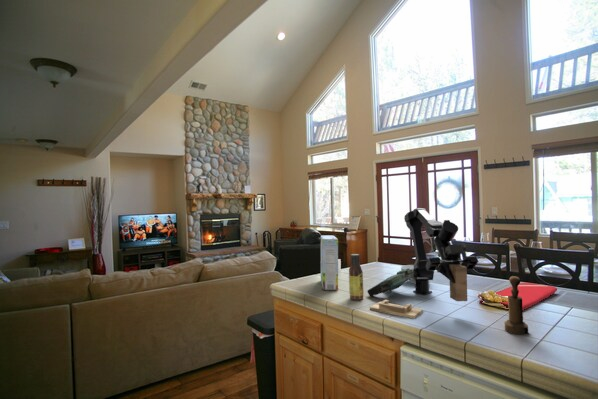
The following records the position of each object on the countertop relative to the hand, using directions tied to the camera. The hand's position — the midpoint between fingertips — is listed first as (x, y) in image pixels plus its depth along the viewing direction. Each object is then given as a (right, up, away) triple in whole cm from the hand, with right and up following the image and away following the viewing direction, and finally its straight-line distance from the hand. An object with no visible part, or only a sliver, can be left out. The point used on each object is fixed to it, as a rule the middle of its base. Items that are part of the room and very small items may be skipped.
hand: (460, 282), depth 123 cm
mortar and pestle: (+12, -13, -14) cm, 22 cm away
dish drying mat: (+37, -13, +22) cm, 45 cm away
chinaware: (+3, -14, +55) cm, 57 cm away
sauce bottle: (-34, -14, +27) cm, 45 cm away
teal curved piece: (-22, -13, +37) cm, 45 cm away
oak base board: (-22, -13, +8) cm, 27 cm away
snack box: (-44, -15, +52) cm, 69 cm away
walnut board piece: (0, -7, +1) cm, 7 cm away
